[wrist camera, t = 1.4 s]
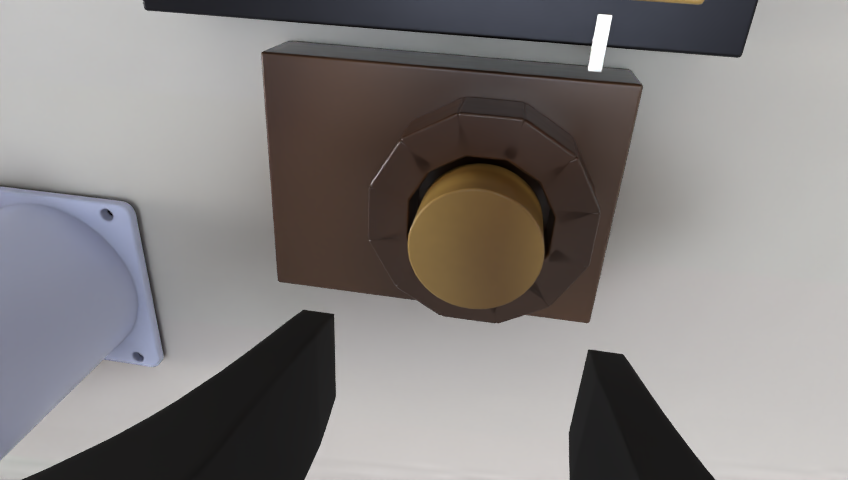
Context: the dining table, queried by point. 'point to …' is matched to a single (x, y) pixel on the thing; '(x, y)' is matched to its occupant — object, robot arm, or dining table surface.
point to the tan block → (678, 1)
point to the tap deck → (517, 20)
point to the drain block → (439, 163)
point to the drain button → (477, 237)
